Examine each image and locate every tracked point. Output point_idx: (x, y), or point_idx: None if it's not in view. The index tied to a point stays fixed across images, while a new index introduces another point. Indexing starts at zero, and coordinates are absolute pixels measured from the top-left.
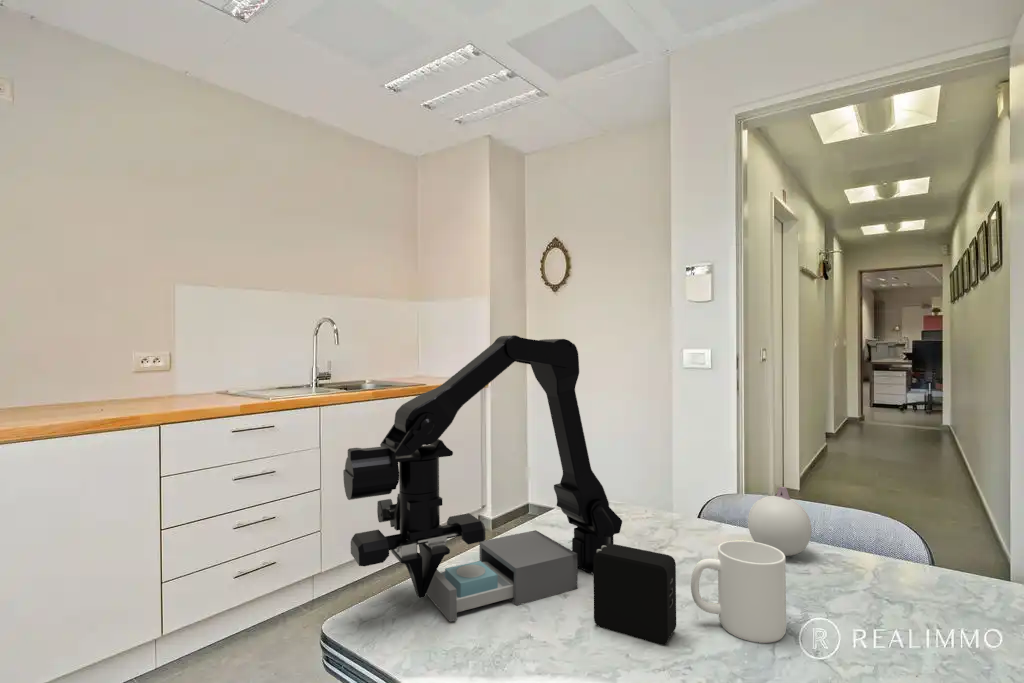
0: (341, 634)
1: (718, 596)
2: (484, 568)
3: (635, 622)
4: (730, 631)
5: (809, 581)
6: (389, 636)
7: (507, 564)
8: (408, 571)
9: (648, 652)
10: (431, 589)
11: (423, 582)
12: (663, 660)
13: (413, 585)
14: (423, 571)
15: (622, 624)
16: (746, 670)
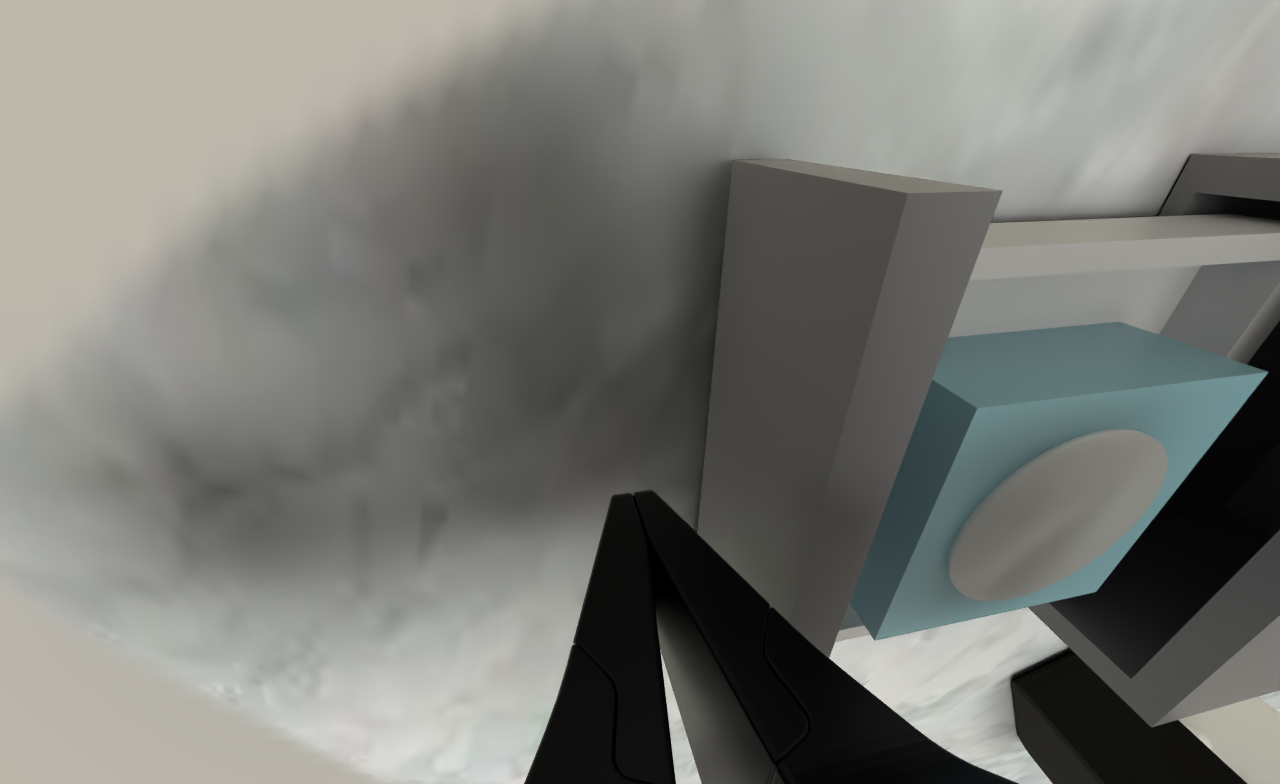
0: (68, 584)
1: (1234, 761)
2: (1135, 520)
3: (1048, 758)
4: None
5: None
6: (396, 638)
7: (1198, 654)
8: (566, 670)
9: (977, 747)
10: (733, 467)
11: (664, 647)
12: (969, 762)
13: (597, 553)
14: (701, 720)
15: (1034, 731)
16: (1021, 779)
